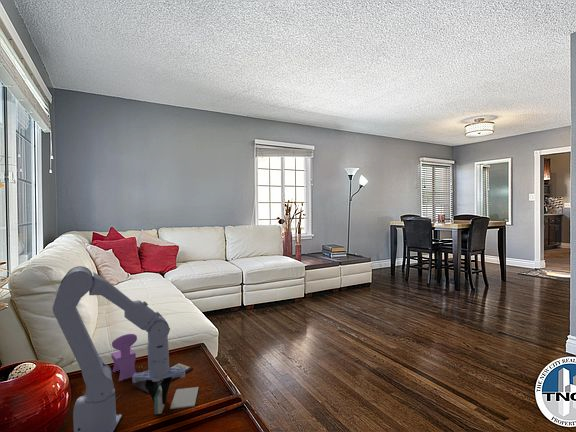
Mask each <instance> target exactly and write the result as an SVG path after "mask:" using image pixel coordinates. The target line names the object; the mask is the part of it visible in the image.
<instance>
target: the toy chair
mask: <svg viewBox="0 0 576 432" xmlns="http://www.w3.org/2000/svg"><path fill="white" fill-rule="evenodd" d="M137 341H138V337H137V335H136V334H135V333H126V334H123V335H121V336H118V337H116V338H115V339H113V341H112V342H111V346H112V348H113V349H114V350H117V351H114V352H111V354H110V355H111V359H112V361H113V369H112V372H115V373H117V372H116V371H118V372H119V377H118V382H122V381H124V379H125V380H127V379H129V378H132V376H133V375H134V373H138V372H137V371H136V367H135V363H136V360H137V356H136V352H135V351H134V350H133V349H132V348H131V347H132V346H133V345H134V344H135V343H136V342H137ZM119 370H120V371H119Z"/></svg>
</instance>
